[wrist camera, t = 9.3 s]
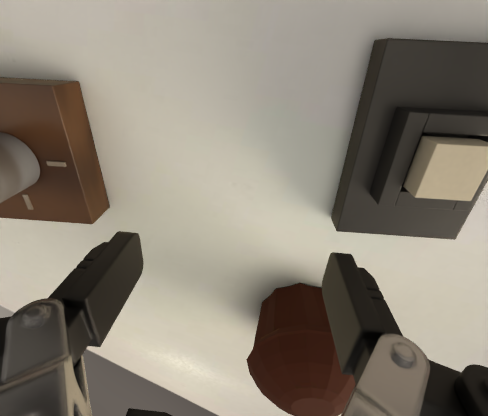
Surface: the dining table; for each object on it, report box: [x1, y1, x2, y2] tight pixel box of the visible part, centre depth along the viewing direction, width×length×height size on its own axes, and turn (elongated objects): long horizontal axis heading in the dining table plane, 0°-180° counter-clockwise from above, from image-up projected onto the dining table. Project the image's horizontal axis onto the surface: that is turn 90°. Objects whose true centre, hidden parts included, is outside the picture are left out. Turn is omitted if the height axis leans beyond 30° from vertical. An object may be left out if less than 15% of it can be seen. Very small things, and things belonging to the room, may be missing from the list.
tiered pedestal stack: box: [331, 38, 488, 239], centre depth 19 cm, size 14×10×4 cm
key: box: [403, 136, 488, 201], centre depth 17 cm, size 4×4×2 cm
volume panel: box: [0, 77, 109, 224], centre depth 22 cm, size 11×10×3 cm
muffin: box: [247, 283, 356, 416], centre depth 27 cm, size 12×11×10 cm
